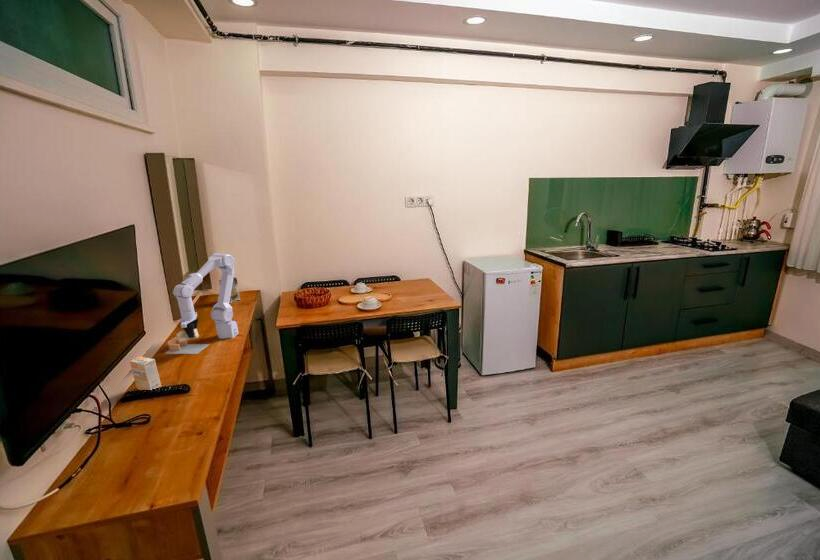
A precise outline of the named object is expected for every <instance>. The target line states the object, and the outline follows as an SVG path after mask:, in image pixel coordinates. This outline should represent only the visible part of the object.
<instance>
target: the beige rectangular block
mask: <svg viewBox="0 0 820 560" xmlns="http://www.w3.org/2000/svg"><path fill="white" fill-rule="evenodd" d="M176 337H177V339H178V340H179V342H182V341H187V342H188V341H190V340H196V339H198V338H199V337H200V334H199V331H198V328H197V329H194V337H193V338H189V337H188V335H187V334H186V332H185V331H184V330H183V331H182V330H180V331H179V332H177V333H176Z"/></svg>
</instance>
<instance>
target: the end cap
mask: <svg viewBox="0 0 820 560" xmlns="http://www.w3.org/2000/svg"><path fill="white" fill-rule="evenodd" d="M166 344H167V348H168V350H173V351H180V350H181V349H180V346H187V344H188V340H187V341H182V342H179V340H178V337H177V336H174V337H172V338H171V339H170V340H168V341H167V342H166Z"/></svg>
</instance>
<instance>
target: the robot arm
mask: <svg viewBox="0 0 820 560" xmlns="http://www.w3.org/2000/svg"><path fill="white" fill-rule="evenodd" d="M216 268H218V269H219V270H220V272H221V278H220V280H221V284H220V283H219V291H218V297H217V302H216V303H215V304H214V305H213V307H212V310H211V311H210V318H211V319H212V320H213V322H214V323H215V327H216V329H215V330H216V335H217V337H218V339H221V340H222V339H233V338H235V337H236V336H237V335H239V328H238V322H237V321H235V320H232V319H233V317H234V313H233V307H232V306H231V304H229V302H230V296H231V290H232V284H233V277H235V258H234V257H233V256H232V255H231V254H229V253H227V254H226V253H218V252H214V253H212V254H211V256H209V257H208V260H207V261H206V262H205V263H204V265H202V266H201V268H200V269H198V271H197V272H193V273H189V274H188V277H186V279H185V280H183V281H181V283H180V284H177V285H175V287H174V288H173V290H172V294H173V295H174V296H175V298H176V300H177V303H178V307H179V311H180V317H181V318H179V322H181V323H180V328H181V329H182V330H183V331H185V332H186V334H187V335H188V337H189V338H193V337H194V329H197V330H198V323H199V320H200V319H199V318H197V317H198V312H197V311H195V307H194V303H193V299H192V296H193V294H194V291H195V290H196V288H197V287H198V286H199V285H201V284H202V282H203V281H204V280H203V278H204V277H206V276H207V274H209V273H210V272H211V271H212V270H214V269H216Z"/></svg>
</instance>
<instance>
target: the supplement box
mask: <svg viewBox="0 0 820 560" xmlns="http://www.w3.org/2000/svg"><path fill="white" fill-rule="evenodd" d="M129 364H130V367H131V371H132V375H133V378H134V381H135V382H134V383H135V385H136V386H135V387H136V389H137V390H139V391H142V390H152V389H156V388H159V387H161V388H162V383H161V379H160V375H159V371H158V368H157V367H158V366H157V363H156V359H155V358H152V357H146V356H142V355H139V356H138V357H135V358H133V359H132V360H130V361H129ZM159 389H160V388H159Z"/></svg>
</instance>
